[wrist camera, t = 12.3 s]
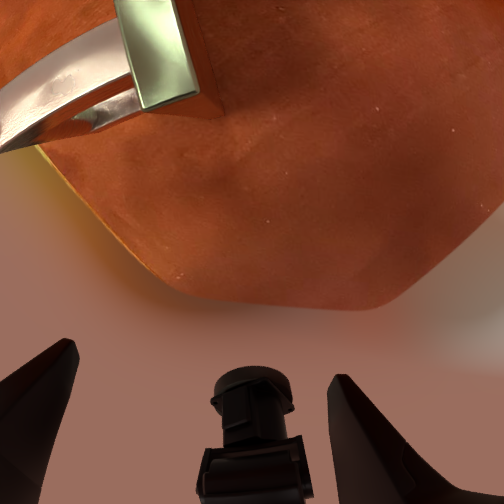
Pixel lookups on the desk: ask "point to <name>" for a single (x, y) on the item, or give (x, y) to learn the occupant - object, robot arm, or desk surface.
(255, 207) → the desk surface
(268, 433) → the robot arm
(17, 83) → the door
